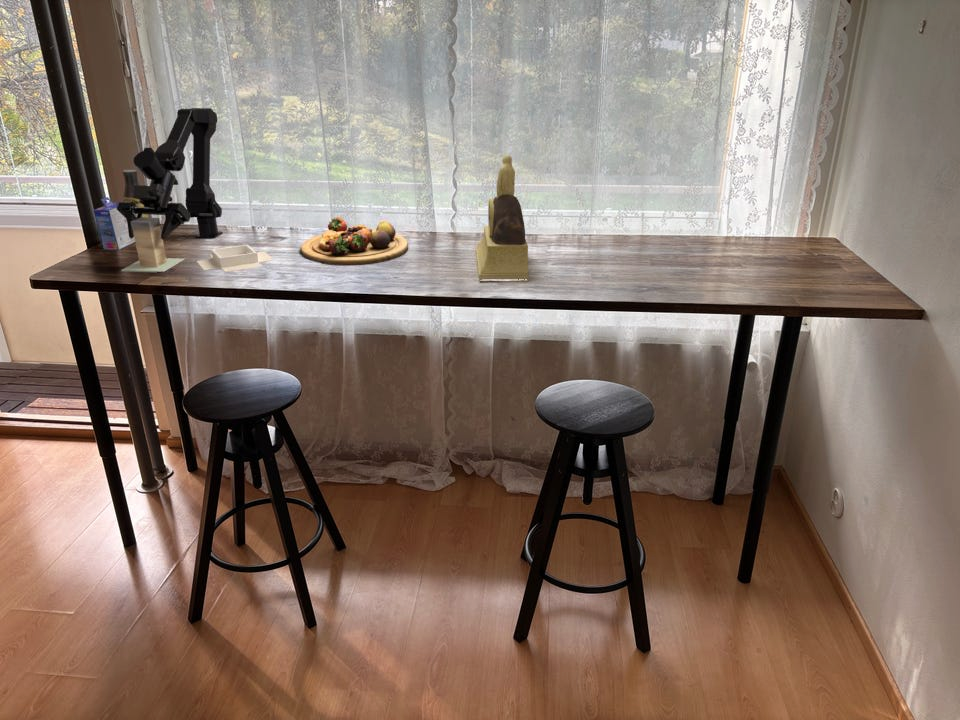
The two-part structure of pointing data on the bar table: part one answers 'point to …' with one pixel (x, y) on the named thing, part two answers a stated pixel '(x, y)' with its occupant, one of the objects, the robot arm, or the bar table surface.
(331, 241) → the wooden plate with food
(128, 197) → the sauce bottle
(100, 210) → the ink cartridge box
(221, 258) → the carton
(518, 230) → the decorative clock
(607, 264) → the bar table surface
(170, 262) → the rubber pad
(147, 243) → the box
